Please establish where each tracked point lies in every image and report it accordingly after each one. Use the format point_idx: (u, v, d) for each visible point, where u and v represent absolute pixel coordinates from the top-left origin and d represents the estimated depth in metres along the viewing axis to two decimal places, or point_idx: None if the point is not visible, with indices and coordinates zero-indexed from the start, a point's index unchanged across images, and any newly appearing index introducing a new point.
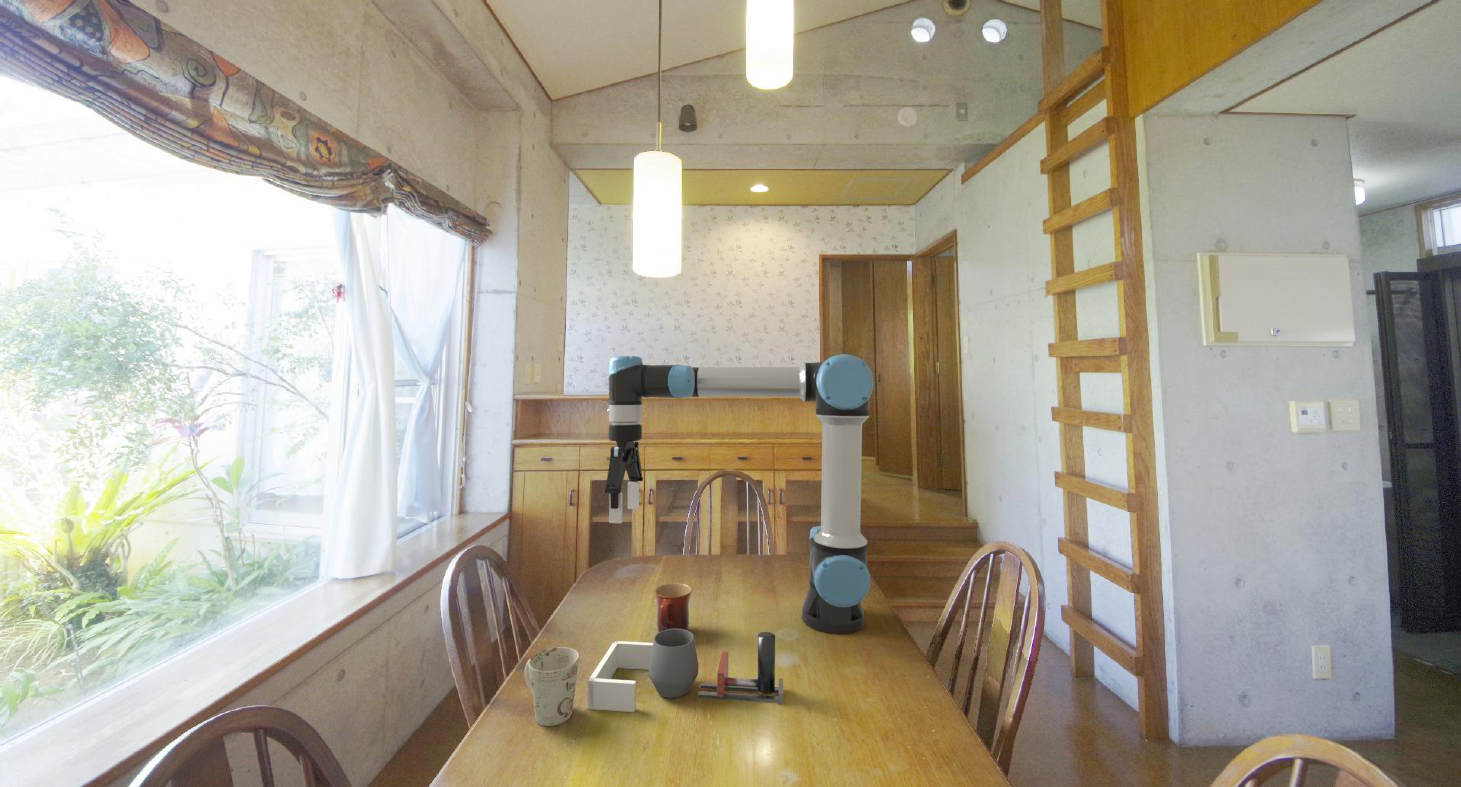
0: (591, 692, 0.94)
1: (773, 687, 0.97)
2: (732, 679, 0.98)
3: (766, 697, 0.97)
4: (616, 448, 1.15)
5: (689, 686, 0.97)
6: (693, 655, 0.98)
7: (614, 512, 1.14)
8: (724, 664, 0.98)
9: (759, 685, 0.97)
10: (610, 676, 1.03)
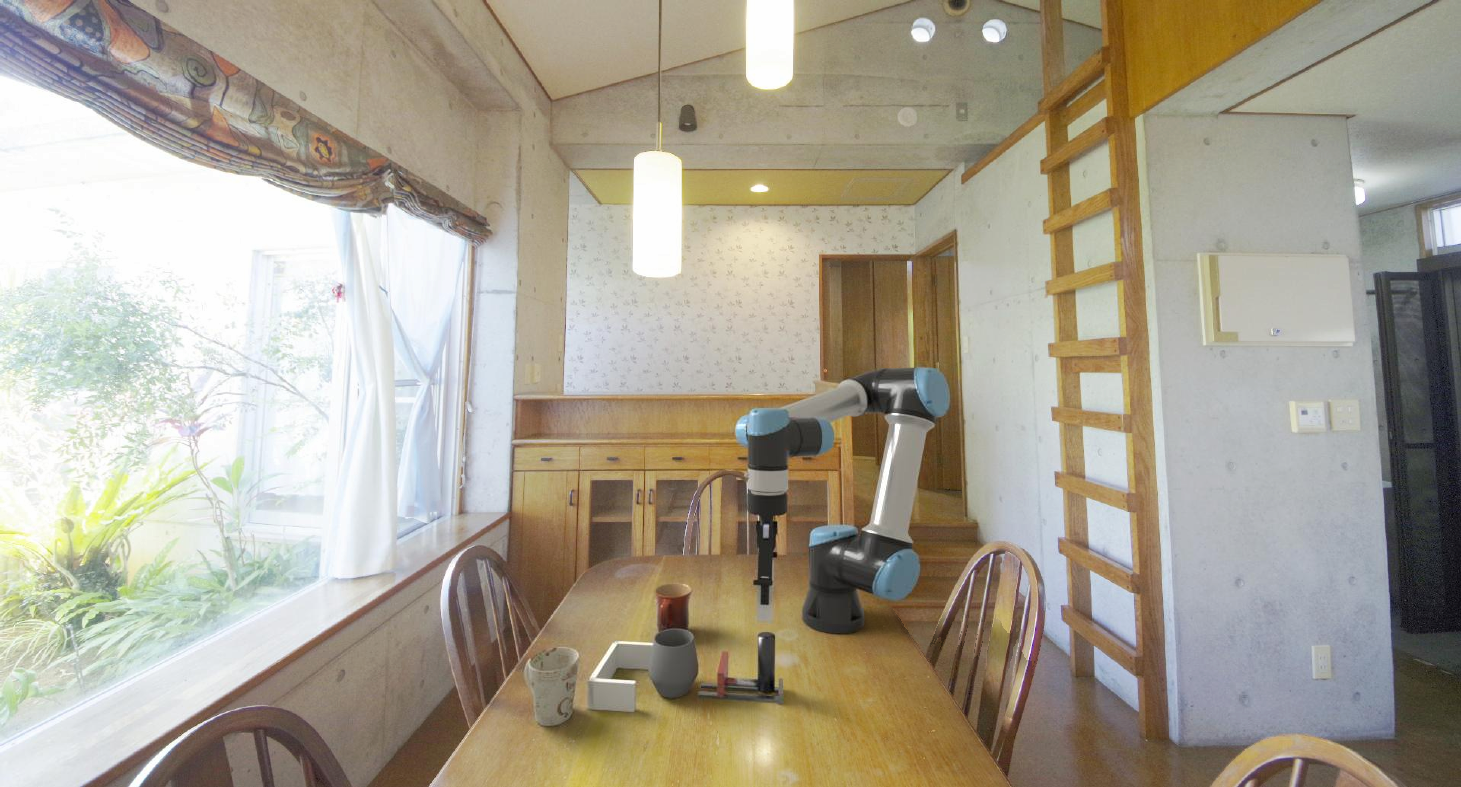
0: (591, 692, 0.94)
1: (773, 687, 0.97)
2: (732, 679, 0.98)
3: (766, 697, 0.97)
4: (766, 527, 0.91)
5: (689, 686, 0.97)
6: (693, 655, 0.98)
7: (763, 609, 0.91)
8: (724, 664, 0.98)
9: (759, 685, 0.97)
10: (610, 676, 1.03)
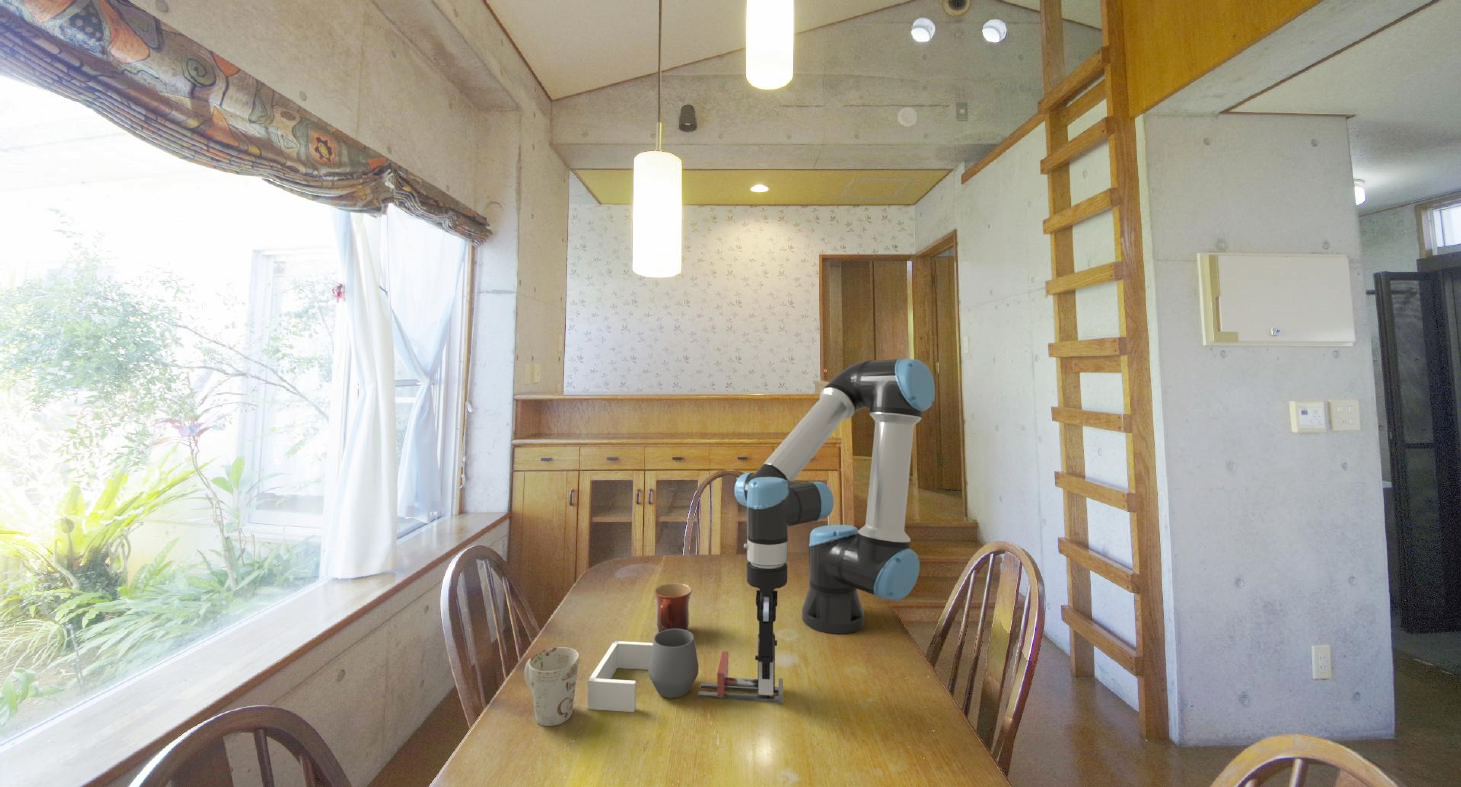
0: (591, 692, 0.94)
1: (773, 687, 0.97)
2: (732, 679, 0.98)
3: (766, 697, 0.97)
4: (766, 614, 0.92)
5: (689, 686, 0.97)
6: (693, 655, 0.98)
7: (764, 682, 0.96)
8: (724, 664, 0.98)
9: None
10: (610, 676, 1.03)
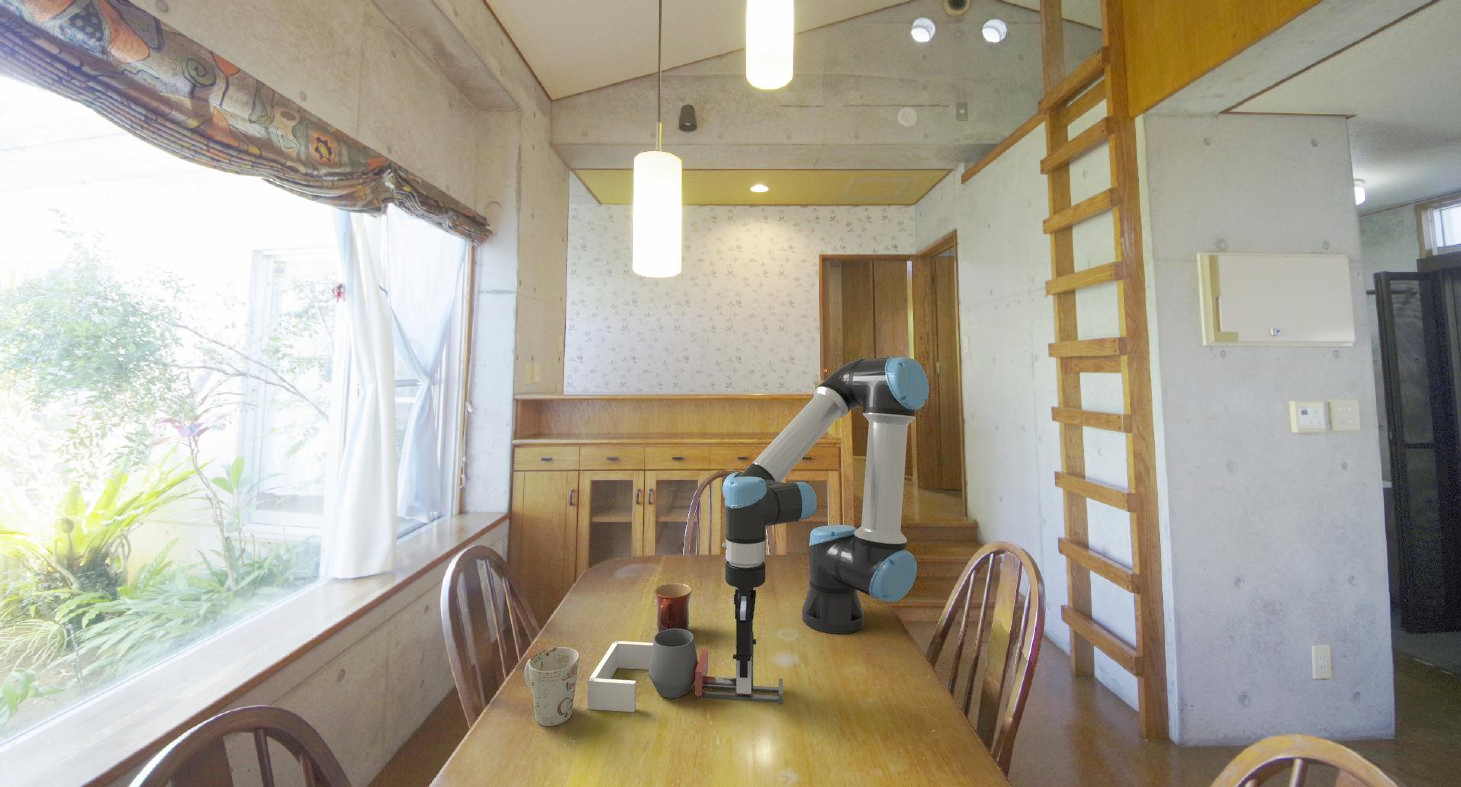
0: (591, 692, 0.94)
1: (751, 686, 0.98)
2: (711, 678, 0.99)
3: (766, 697, 0.97)
4: (742, 613, 0.92)
5: (689, 686, 0.97)
6: (693, 655, 0.98)
7: (742, 681, 0.96)
8: (703, 663, 0.98)
9: None
10: (610, 676, 1.03)
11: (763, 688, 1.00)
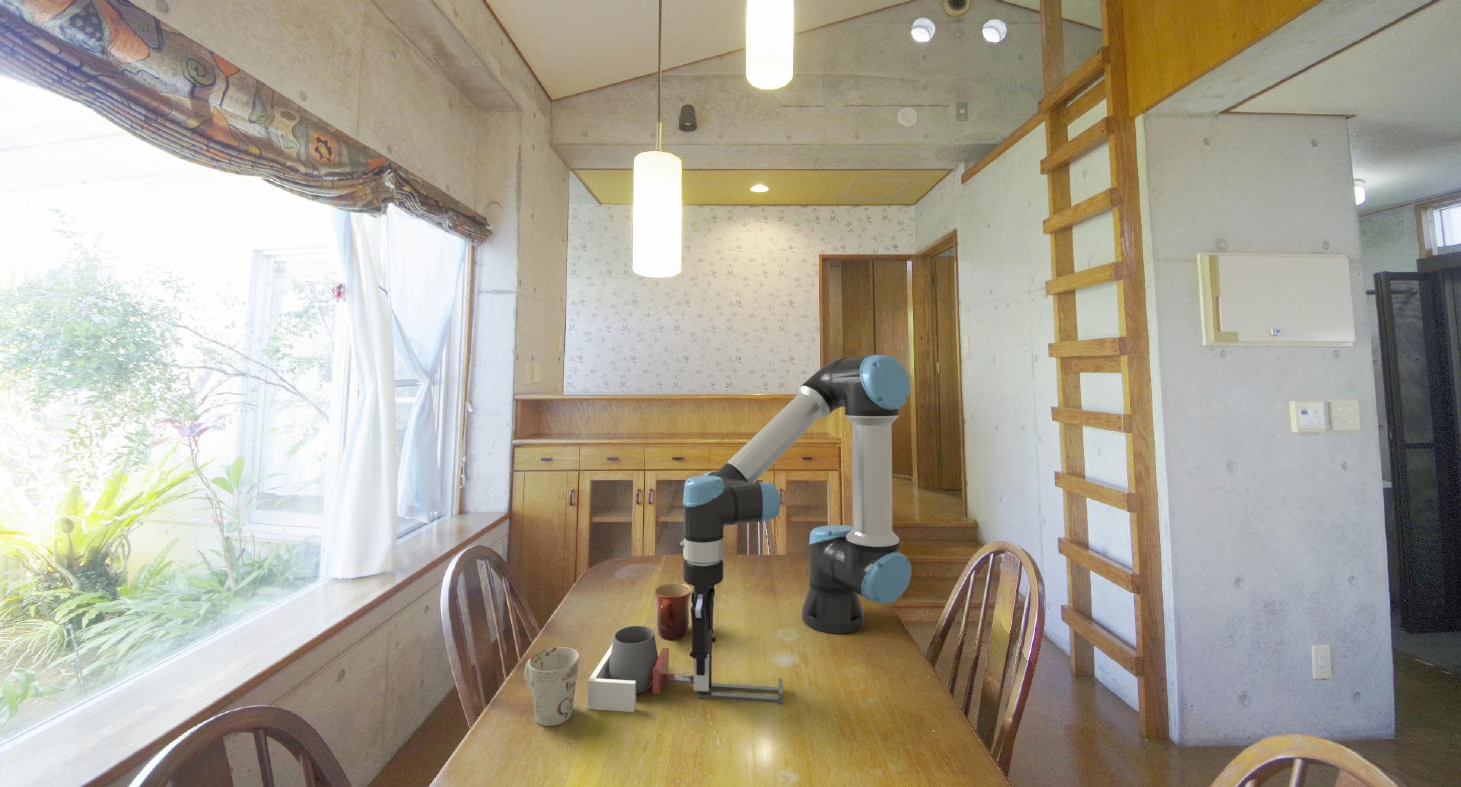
0: (591, 692, 0.94)
1: (709, 683, 0.98)
2: (670, 675, 1.00)
3: (766, 697, 0.97)
4: (698, 611, 0.93)
5: (647, 683, 0.98)
6: (652, 652, 0.99)
7: (699, 678, 0.97)
8: (661, 660, 0.99)
9: None
10: (610, 676, 1.03)
11: (763, 688, 1.00)
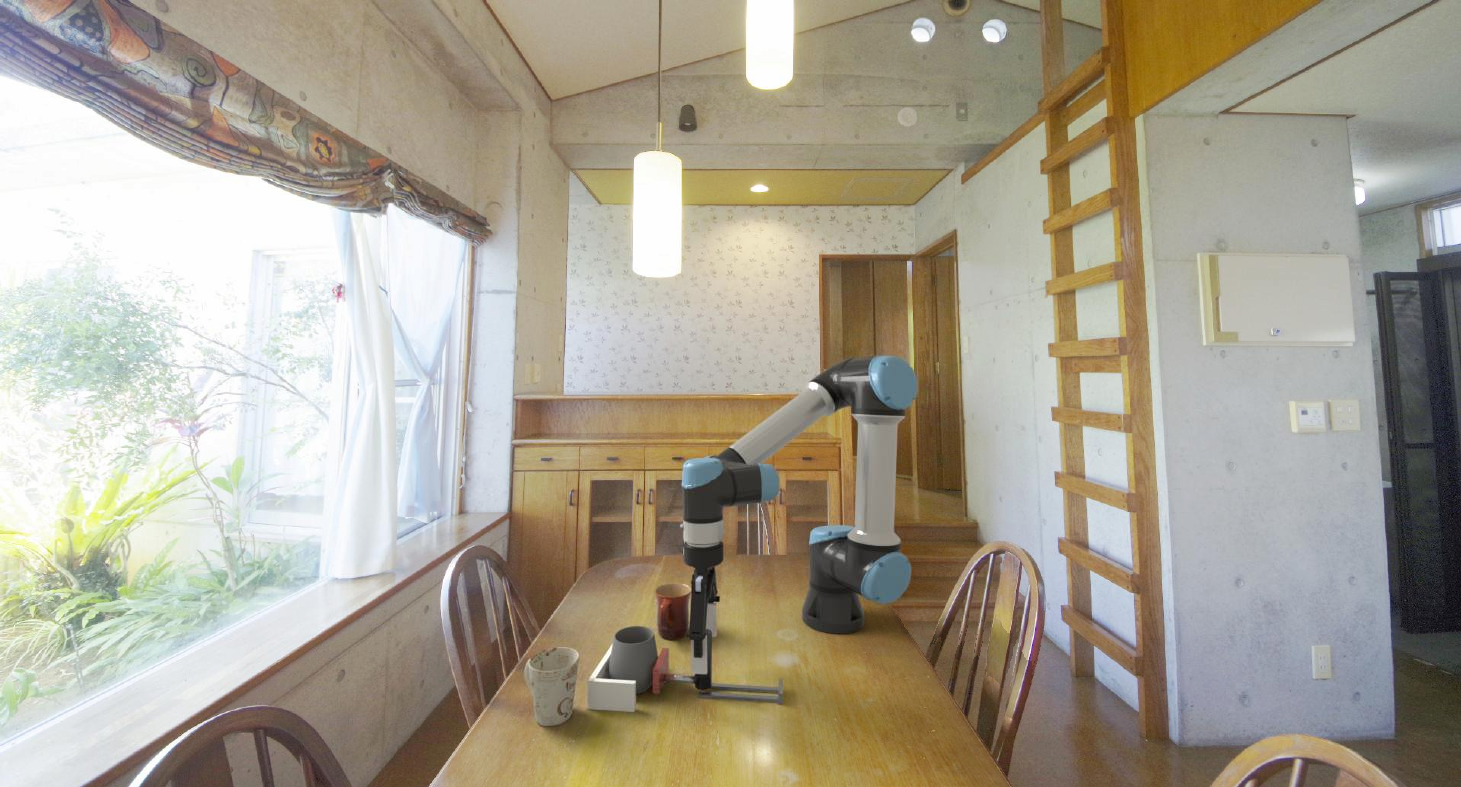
0: (591, 692, 0.94)
1: (709, 683, 0.98)
2: (670, 675, 1.00)
3: (766, 697, 0.97)
4: (698, 581, 0.93)
5: (647, 683, 0.98)
6: (652, 653, 0.99)
7: (697, 661, 0.92)
8: (661, 660, 0.99)
9: (696, 681, 0.98)
10: (610, 676, 1.03)
11: (763, 688, 1.00)
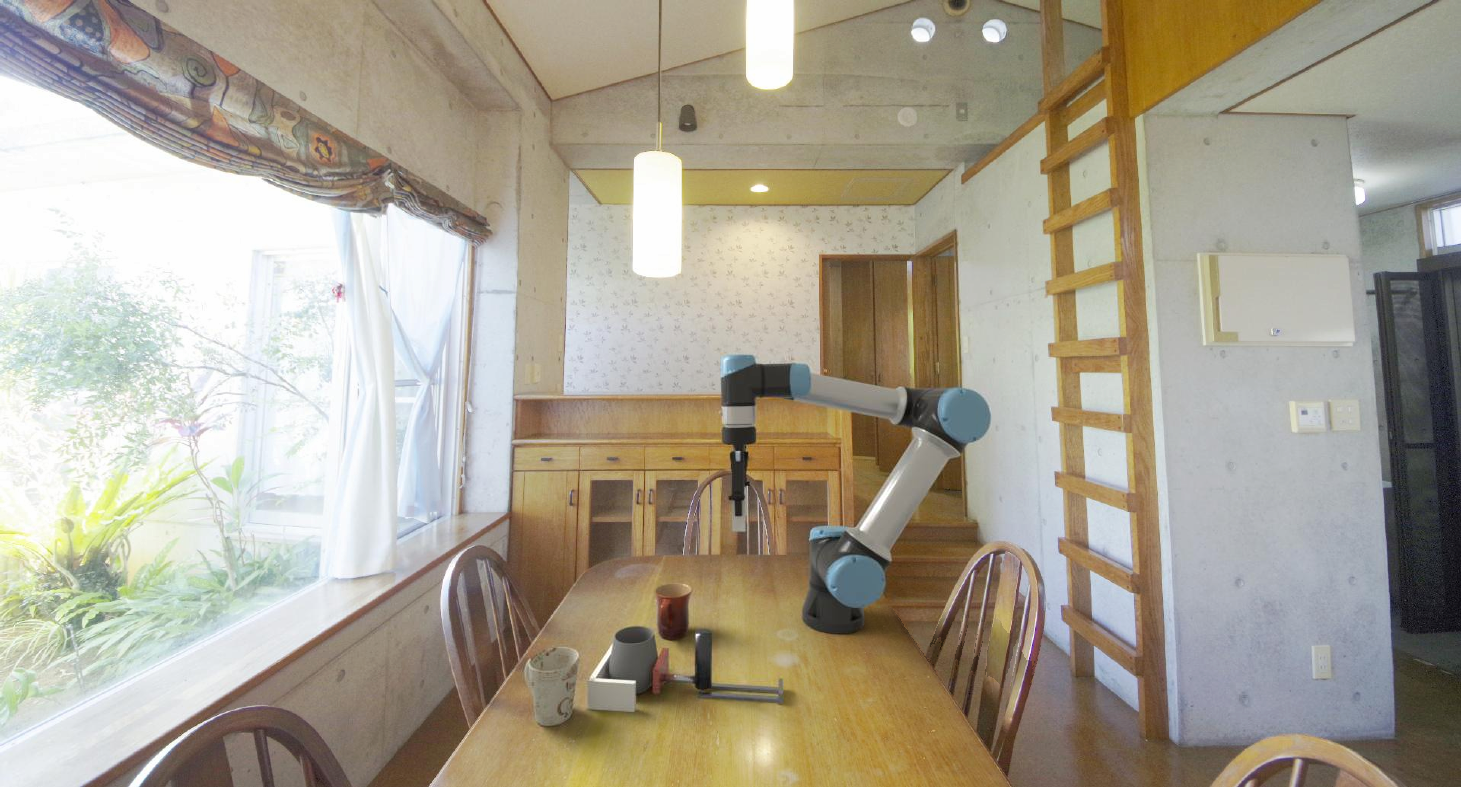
0: (591, 692, 0.94)
1: (709, 683, 0.98)
2: (670, 675, 1.00)
3: (766, 697, 0.97)
4: (738, 452, 1.08)
5: (647, 683, 0.98)
6: (652, 653, 0.99)
7: (737, 520, 1.08)
8: (661, 660, 0.99)
9: (696, 681, 0.98)
10: (610, 676, 1.03)
11: (763, 688, 1.00)
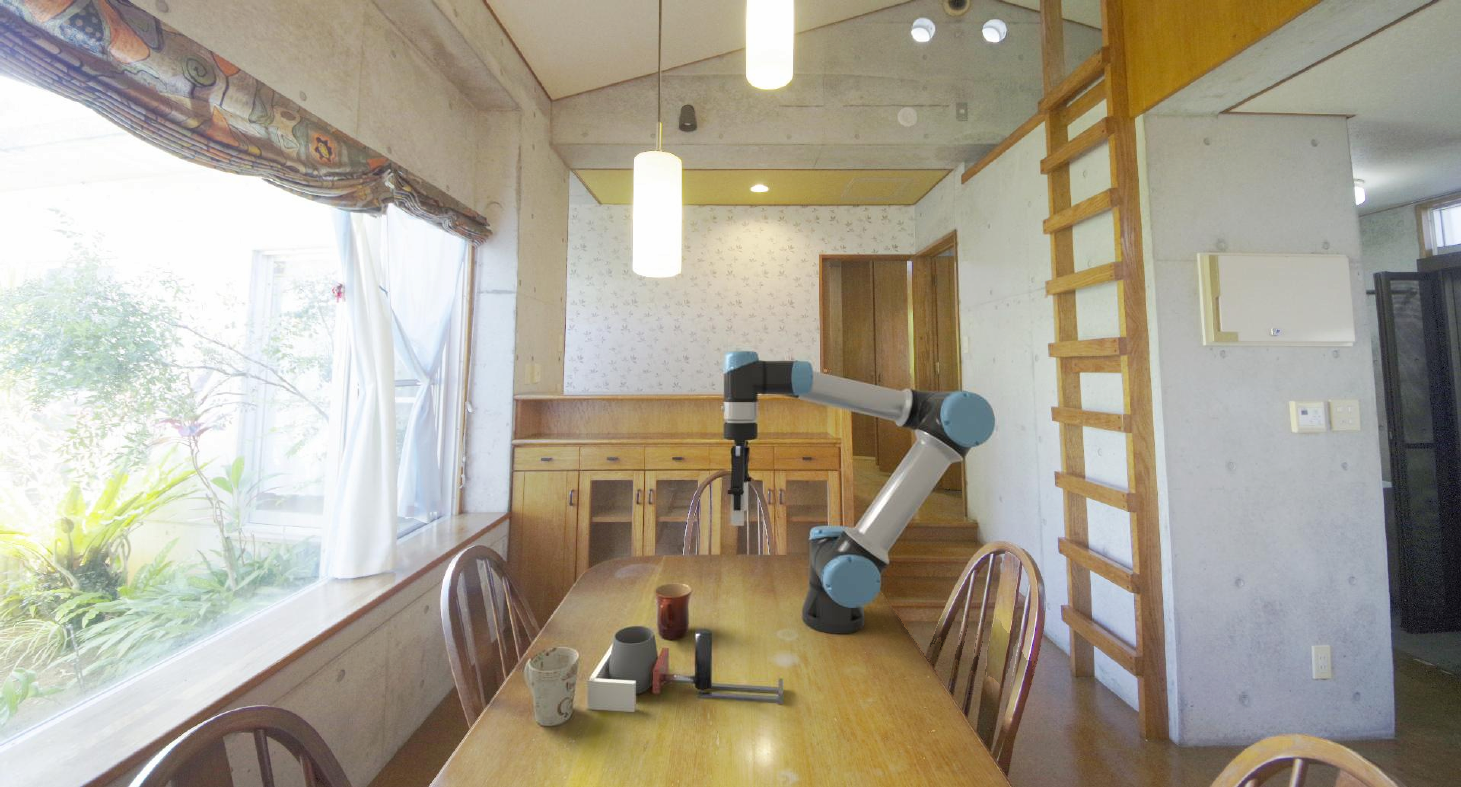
0: (591, 692, 0.94)
1: (709, 683, 0.98)
2: (670, 675, 1.00)
3: (766, 697, 0.97)
4: (738, 447, 1.10)
5: (647, 683, 0.98)
6: (652, 653, 0.99)
7: (736, 514, 1.09)
8: (661, 660, 0.99)
9: (696, 681, 0.98)
10: (610, 676, 1.03)
11: (763, 688, 1.00)
